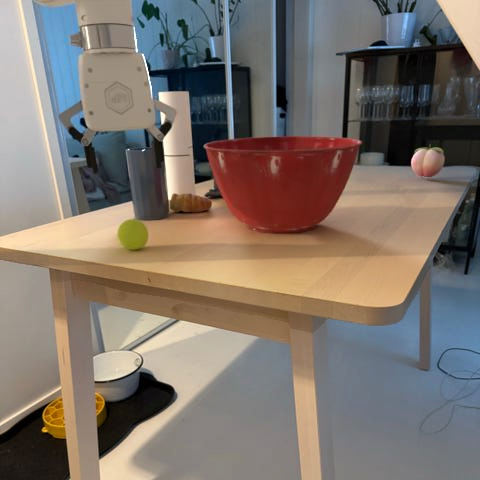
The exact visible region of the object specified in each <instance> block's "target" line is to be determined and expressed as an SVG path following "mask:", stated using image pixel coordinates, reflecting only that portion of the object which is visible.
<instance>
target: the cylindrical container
mask: <svg viewBox="0 0 480 480" xmlns="http://www.w3.org/2000/svg"><path fill="white" fill-rule="evenodd" d="M189 93H190V92H189V91H187V90H186V91H185V90H184V91H183V90H182V91H159V92H158V100H159V101H161V102H163V103H165V104H167V105H169V106H171V107H173V108H175V109H176V111H177V114H176V116H175V119H174V122H173V124H172V128H171V130H170V131H169V132H168V133H167V135H166V136H165V137H164V140H163V141H162V145H163V148H164V157H165V168H166V179H167V190H168V201H171V197H172V194H174V193H176V194H178V195H180V194H189V193H190V194H192V195H197V193H196V181H195V179H196V178H195V165H194V150H193V138H192V137H193V135H192V120H191V106H190V94H189ZM159 112H160V121H161V125H162V124H163V123H164V120H165V114H164V113H163V112H161V111H159Z"/></svg>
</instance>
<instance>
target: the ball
mask: <svg viewBox="0 0 480 480" xmlns="http://www.w3.org/2000/svg"><path fill="white" fill-rule="evenodd" d="M117 239H118V241H119V243H120V245H122V247H124V248H125V249H128V250H131V251H132V250H133V251H136V250H140V249H142V248H143V247H144V246H146V244H147V243H148V241H149V231H148V228H147V226H146V225H145V223H143V221H141V220H138V219H135V218H131V219H127V220H126V219H125V220H124V221H122V223H121V224H120V225H119V226H118V229H117Z"/></svg>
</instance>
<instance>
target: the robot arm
mask: <svg viewBox="0 0 480 480" xmlns="http://www.w3.org/2000/svg"><path fill="white" fill-rule="evenodd" d="M32 1H33V2H34V3H36V4H38V5H40V6H42V7H47V8H59V7H65V6H69V5H73V4H74V6H75V13H76V17H77V23H78V24H77V25H78V28H79V29H78V31H77V32H76V33H74V34H69V41H70V46H72V47H73V46H76V47H77V48H79V49H81V50H82V53H80V54H78V63H77V66H78V67H77V68H78V70H77V71H78V83H79V91H80V97H81V98H80V99H81V100H79V101H77V102H75V103H74V104H73V105H71V106H70V107H68V108H67V109H65V110H63V111H62V112H61V113H59V114H58V115H57V117H58V120H59V121H60V123H61V124H62V126H63V127H64V129H65V130H66V132H67V133H68V134H69V135H70V136H71V137H72V138H73V139H74V140H76V142H78V143H80V144H81V145H82V146H83V150H84V151H83V152H84V156H85V162H86V167H87V169H91V170H92V174H93V175H98V173H99V168H98V162H97V155H96V150H95V146H94V145H93V139H94V137H95V136H96V134H97V133H98V132H115V131H116V132H117V131H118V132H119V131H132V130H133V131H134V130H135V131H136V130H145V131H146V132H147V133H148V134H149V135H150V136H151V137H152V138H151V139H152V140H151V141H150V147H151V148H152V156H153V165H154V167H156V168H158V169H160V168H161V162H164V157H165V155H164V154H163V148H164V145H163V140H164V137H165V136H166V135H167V133H168V132H169V131H170V130H171V128H172V124H173V122H174V119H175V116H176V114H177V111H176V109H175V108H173V107H171V106H169V105H167V104H165V103H163V102H161V101H159V99H157V98H155V97H154V96H153V90H152V85H151V81H150V75H149V70H148V66H147V62H146V59H145V56H144V53H141V52H138V46H137V39H136V38H137V37H136V31H135V29H136V28H135V23H134V22H135V21H134V14H133V7H132V0H32ZM156 110H157V111H159V112H160V111H161V112H163V113H164V114H165V120H164V123H163V124H162V123H161V124H160V126H159V127H157V126H156V125H155V124H156ZM161 112H160V113H161ZM80 113H83V118H84V122H85V125H86V127H87V128H86V130H85V131H84V132H83V133H82V132H81V131H80V130H78V128H76V127H75V125H74V124H73V123H72V118H74V117H75V116H77V115H78V114H80Z"/></svg>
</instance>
